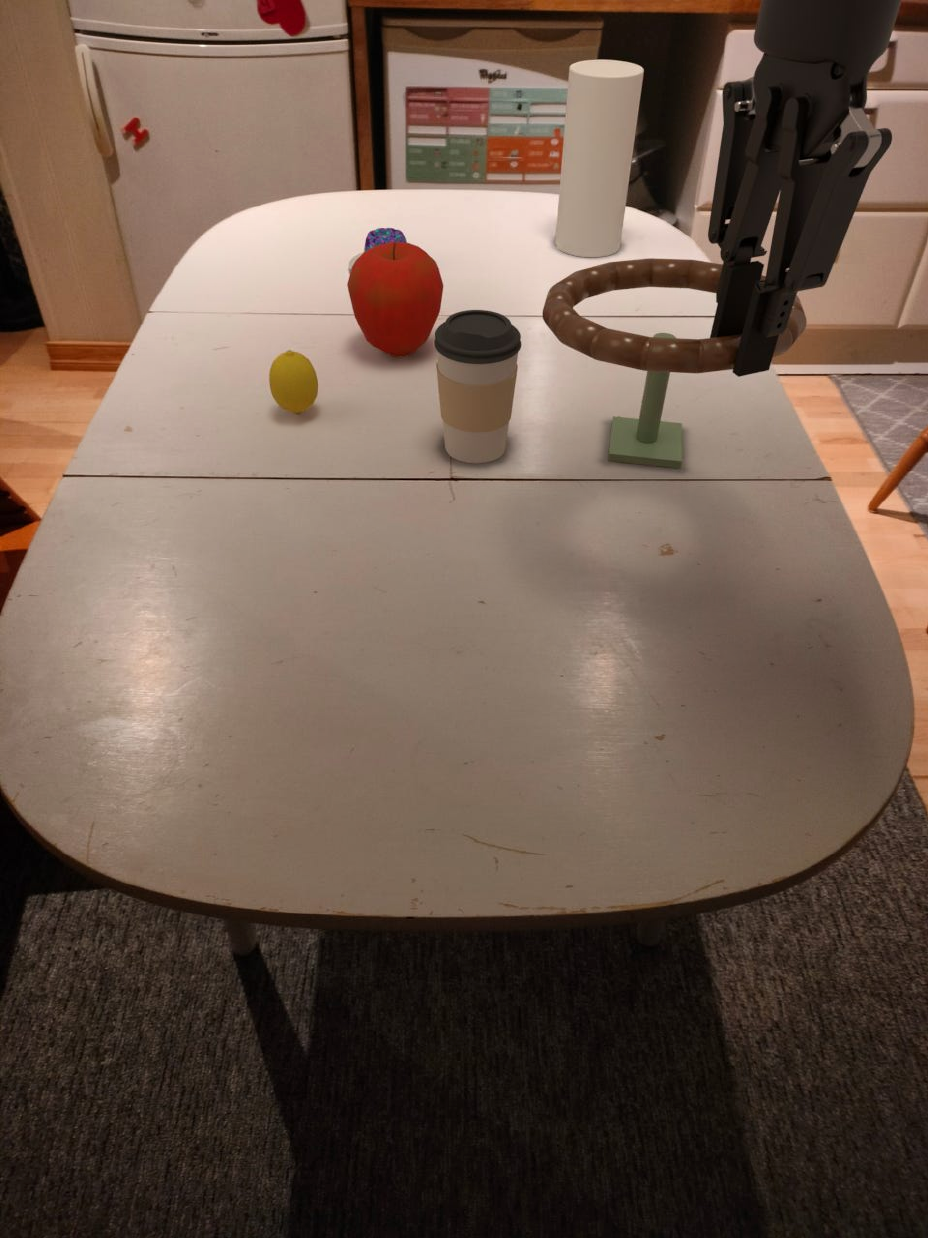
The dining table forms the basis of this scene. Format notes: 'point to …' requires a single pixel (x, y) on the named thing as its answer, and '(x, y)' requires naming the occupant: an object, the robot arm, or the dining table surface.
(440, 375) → the coffee cup
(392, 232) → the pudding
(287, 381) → the lemon
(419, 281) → the apple
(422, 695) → the dining table surface
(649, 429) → the post
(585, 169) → the tall pillar cylinder
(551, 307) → the ring
